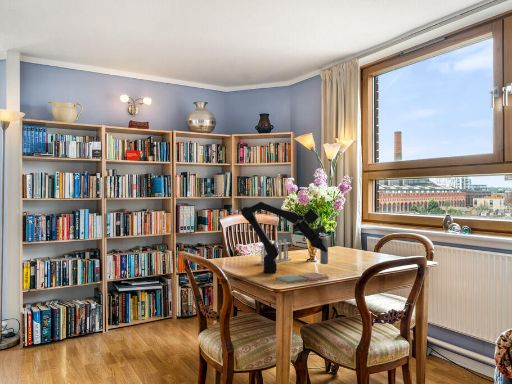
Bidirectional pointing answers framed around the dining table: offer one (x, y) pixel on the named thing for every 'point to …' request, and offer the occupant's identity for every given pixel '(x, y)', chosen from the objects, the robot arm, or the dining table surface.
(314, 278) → the terracotta tile
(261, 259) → the test tube rack
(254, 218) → the robot arm
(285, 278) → the sage tile
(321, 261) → the tube
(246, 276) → the dining table surface
